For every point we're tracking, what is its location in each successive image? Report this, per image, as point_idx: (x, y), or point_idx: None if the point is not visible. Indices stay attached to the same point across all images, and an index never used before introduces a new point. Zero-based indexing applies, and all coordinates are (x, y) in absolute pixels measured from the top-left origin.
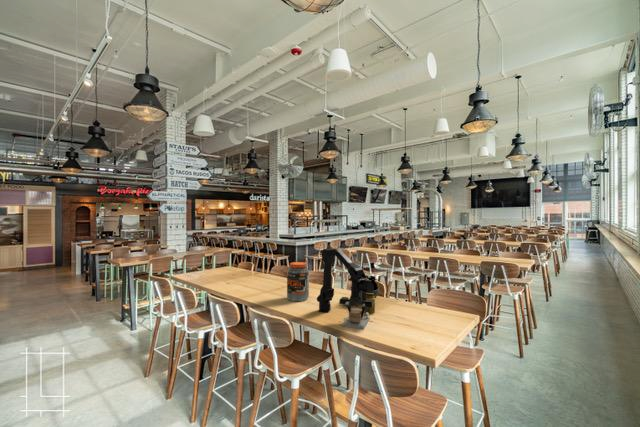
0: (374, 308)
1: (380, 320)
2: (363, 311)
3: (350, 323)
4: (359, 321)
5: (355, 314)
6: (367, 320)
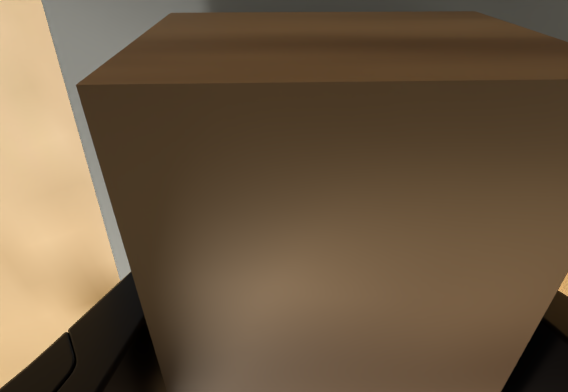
0: None
1: (2, 351)
2: (38, 375)
3: (420, 1)
4: (175, 17)
5: (328, 78)
6: (126, 269)
